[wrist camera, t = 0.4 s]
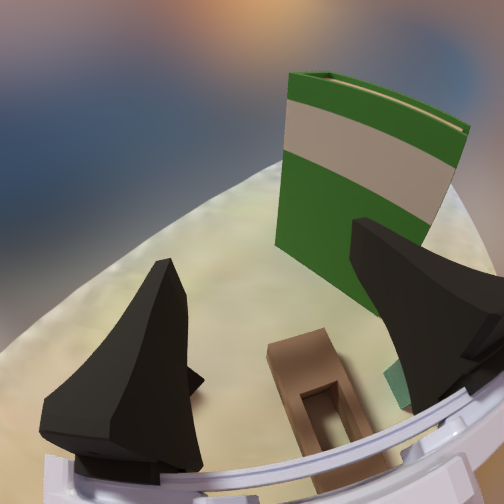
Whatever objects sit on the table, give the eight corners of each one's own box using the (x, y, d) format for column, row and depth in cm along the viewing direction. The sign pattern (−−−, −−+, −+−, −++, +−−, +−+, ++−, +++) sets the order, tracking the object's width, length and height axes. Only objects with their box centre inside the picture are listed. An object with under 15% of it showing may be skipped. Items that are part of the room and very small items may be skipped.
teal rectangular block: (416, 399, 24) (445, 381, 19) (400, 409, 23) (429, 392, 19) (398, 364, 27) (423, 341, 23) (382, 372, 26) (407, 350, 22)
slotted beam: (377, 481, 17) (393, 481, 15) (323, 507, 16) (333, 512, 14) (316, 342, 29) (324, 327, 27) (266, 357, 28) (268, 344, 26)
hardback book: (399, 283, 35) (470, 125, 18) (377, 316, 32) (467, 136, 14) (305, 222, 44) (327, 71, 27) (274, 245, 40) (288, 72, 23)
